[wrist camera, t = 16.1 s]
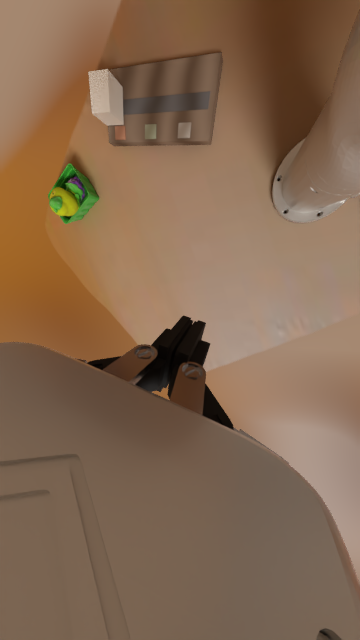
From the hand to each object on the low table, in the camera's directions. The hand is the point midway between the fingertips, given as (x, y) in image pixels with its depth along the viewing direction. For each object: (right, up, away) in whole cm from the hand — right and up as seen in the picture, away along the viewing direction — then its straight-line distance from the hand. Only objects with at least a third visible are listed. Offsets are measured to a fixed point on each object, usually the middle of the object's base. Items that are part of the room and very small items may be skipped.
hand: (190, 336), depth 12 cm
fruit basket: (-26, +33, +34) cm, 54 cm away
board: (-5, +42, +21) cm, 47 cm away
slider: (-14, +43, +21) cm, 50 cm away
